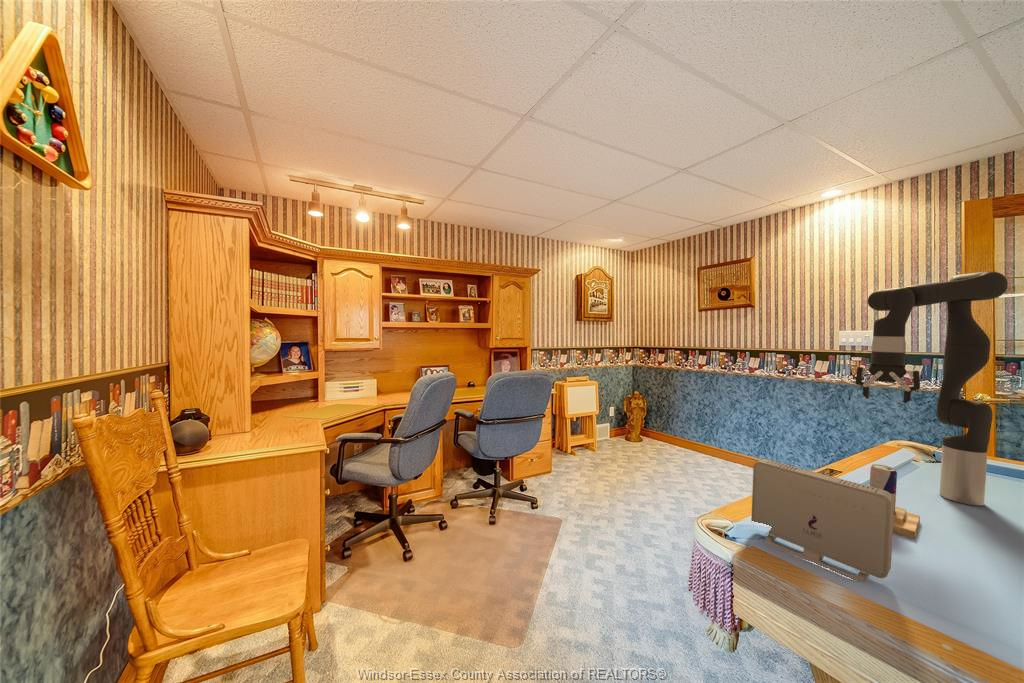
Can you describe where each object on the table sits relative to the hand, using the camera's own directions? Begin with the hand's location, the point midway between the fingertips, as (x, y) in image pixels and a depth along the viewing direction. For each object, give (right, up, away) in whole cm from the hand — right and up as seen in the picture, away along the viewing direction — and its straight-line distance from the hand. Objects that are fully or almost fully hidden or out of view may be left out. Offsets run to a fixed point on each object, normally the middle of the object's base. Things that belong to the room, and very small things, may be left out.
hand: (885, 400), depth 115 cm
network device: (-47, -34, -28) cm, 65 cm away
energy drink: (-13, -30, -11) cm, 34 cm away
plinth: (-13, -33, -11) cm, 37 cm away
